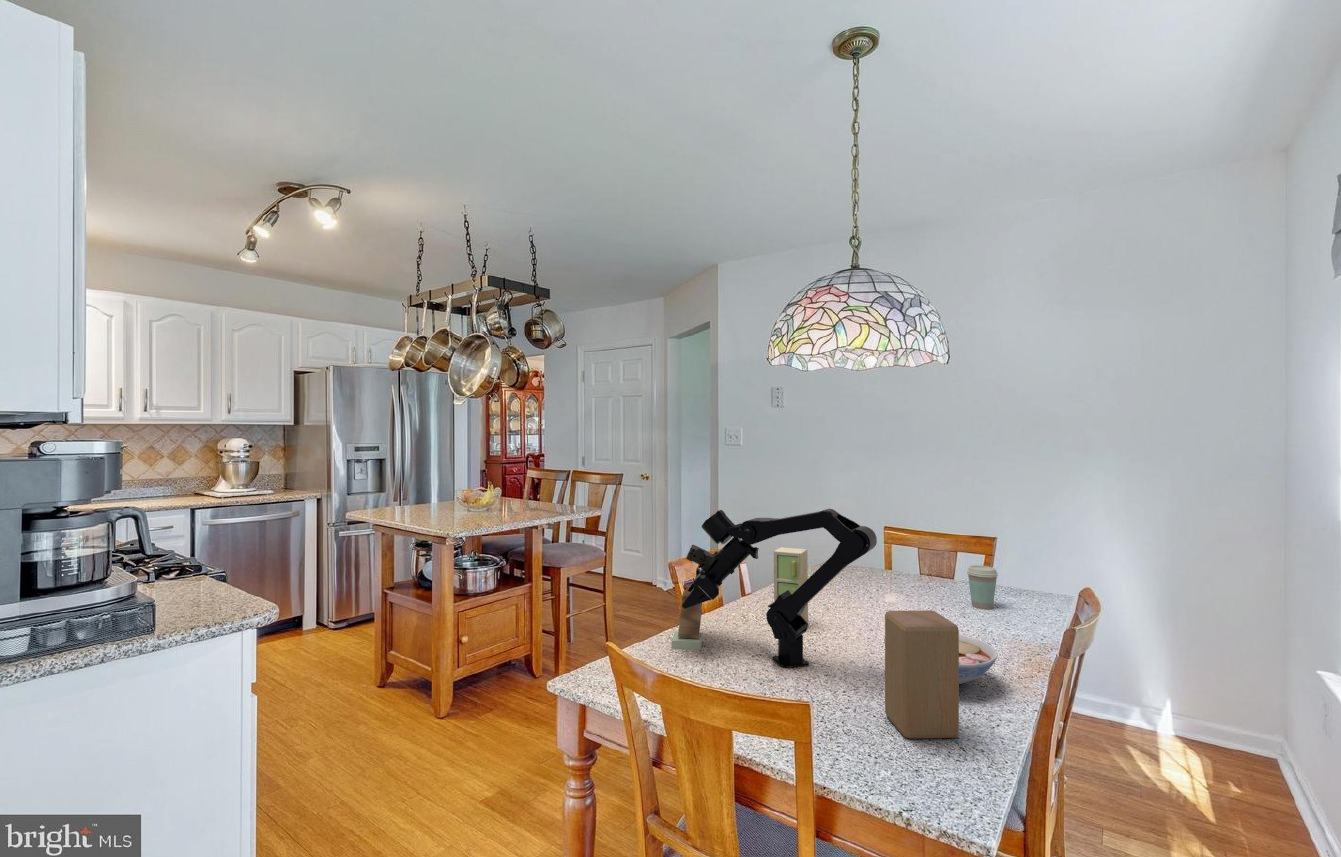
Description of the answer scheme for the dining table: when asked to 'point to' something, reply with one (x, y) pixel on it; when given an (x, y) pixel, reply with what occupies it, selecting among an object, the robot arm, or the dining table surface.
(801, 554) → the toy refrigerator
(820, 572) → the robot arm
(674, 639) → the sage top slab
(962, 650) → the ramen bowl
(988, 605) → the coffee cup
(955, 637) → the wooden block
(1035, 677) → the dining table surface
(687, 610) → the walnut pillar
